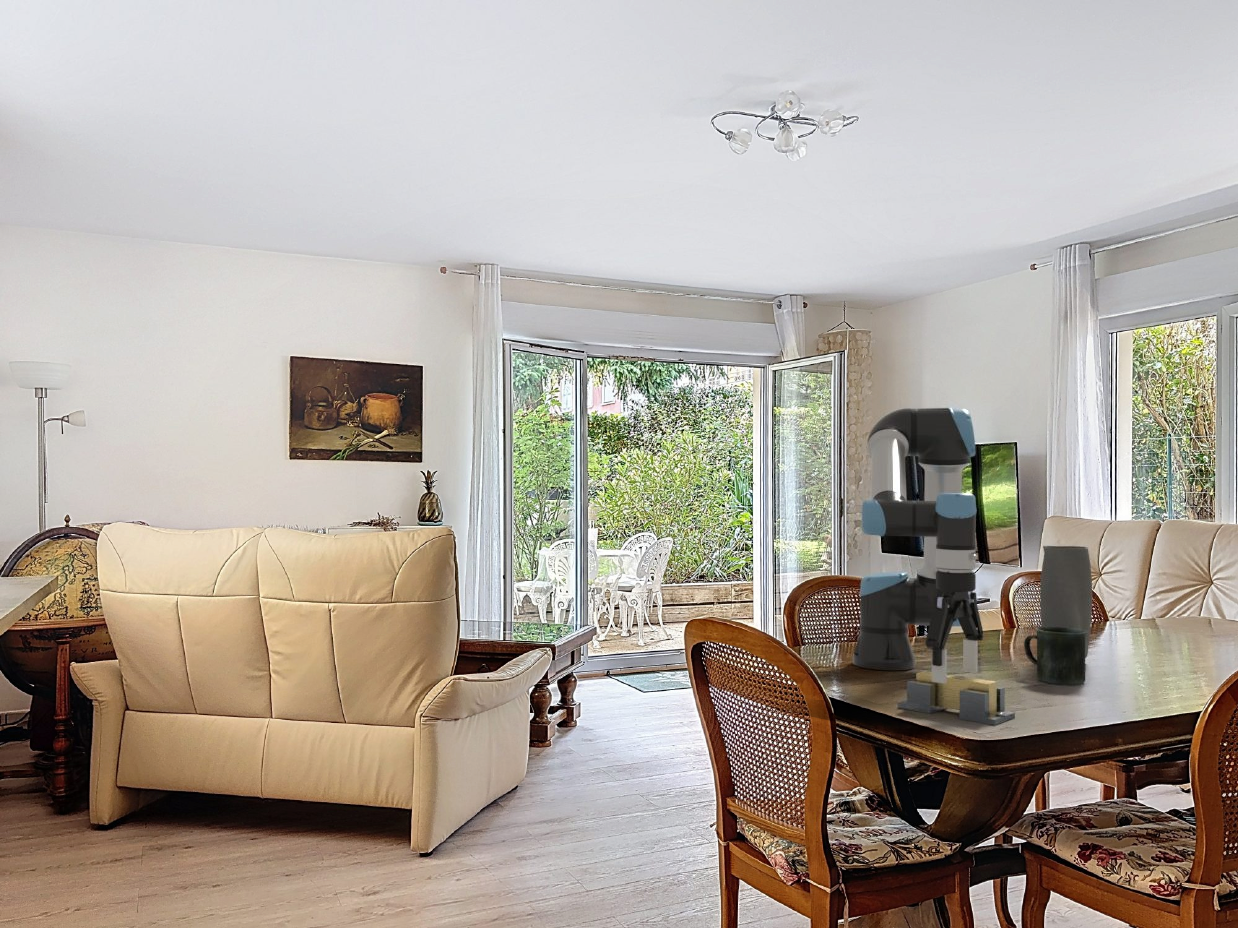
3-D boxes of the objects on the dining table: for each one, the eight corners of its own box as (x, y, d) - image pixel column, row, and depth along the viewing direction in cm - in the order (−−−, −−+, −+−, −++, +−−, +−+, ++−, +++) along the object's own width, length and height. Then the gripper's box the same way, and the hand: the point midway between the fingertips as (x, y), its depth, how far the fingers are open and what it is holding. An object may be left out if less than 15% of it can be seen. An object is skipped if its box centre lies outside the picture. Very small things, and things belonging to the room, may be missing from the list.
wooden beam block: (916, 702, 198) (916, 672, 198) (924, 700, 200) (924, 670, 200) (988, 715, 187) (988, 683, 187) (996, 712, 190) (996, 681, 190)
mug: (1071, 687, 220) (1071, 634, 220) (1012, 677, 232) (1012, 626, 232) (1096, 682, 226) (1096, 630, 227) (1037, 673, 238) (1037, 623, 239)
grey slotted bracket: (897, 707, 198) (898, 680, 198) (919, 701, 204) (919, 674, 204) (930, 713, 193) (930, 685, 193) (951, 706, 199) (951, 679, 199)
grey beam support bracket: (959, 718, 188) (959, 690, 189) (979, 711, 195) (979, 683, 195) (995, 725, 184) (995, 695, 184) (1014, 717, 190) (1014, 689, 190)
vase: (1089, 668, 245) (1089, 548, 246) (1036, 663, 251) (1037, 546, 252) (1095, 661, 255) (1095, 546, 256) (1044, 656, 262) (1044, 544, 263)
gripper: (944, 576, 183) (943, 689, 183) (1000, 567, 201) (1000, 670, 201) (907, 573, 188) (907, 683, 188) (965, 564, 206) (965, 665, 206)
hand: (955, 677), depth 194 cm, fingers open, 13 cm apart
